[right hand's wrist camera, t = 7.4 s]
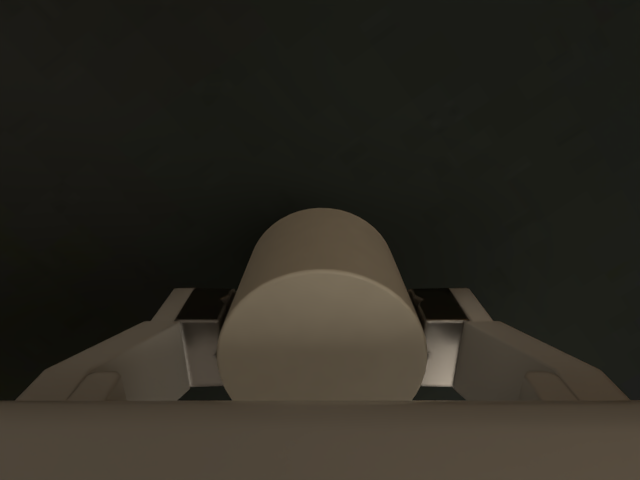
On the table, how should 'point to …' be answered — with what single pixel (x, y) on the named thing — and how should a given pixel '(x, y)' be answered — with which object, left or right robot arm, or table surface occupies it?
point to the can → (321, 317)
